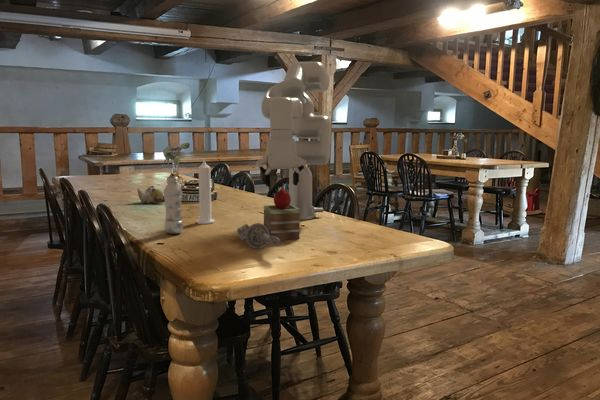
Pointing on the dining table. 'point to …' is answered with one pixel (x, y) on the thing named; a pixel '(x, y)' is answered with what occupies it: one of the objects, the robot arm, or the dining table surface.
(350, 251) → the dining table surface
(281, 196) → the onion
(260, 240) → the spaceship
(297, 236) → the green shadow box
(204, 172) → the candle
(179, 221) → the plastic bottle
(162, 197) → the ceramic sculpture
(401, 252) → the dining table surface
